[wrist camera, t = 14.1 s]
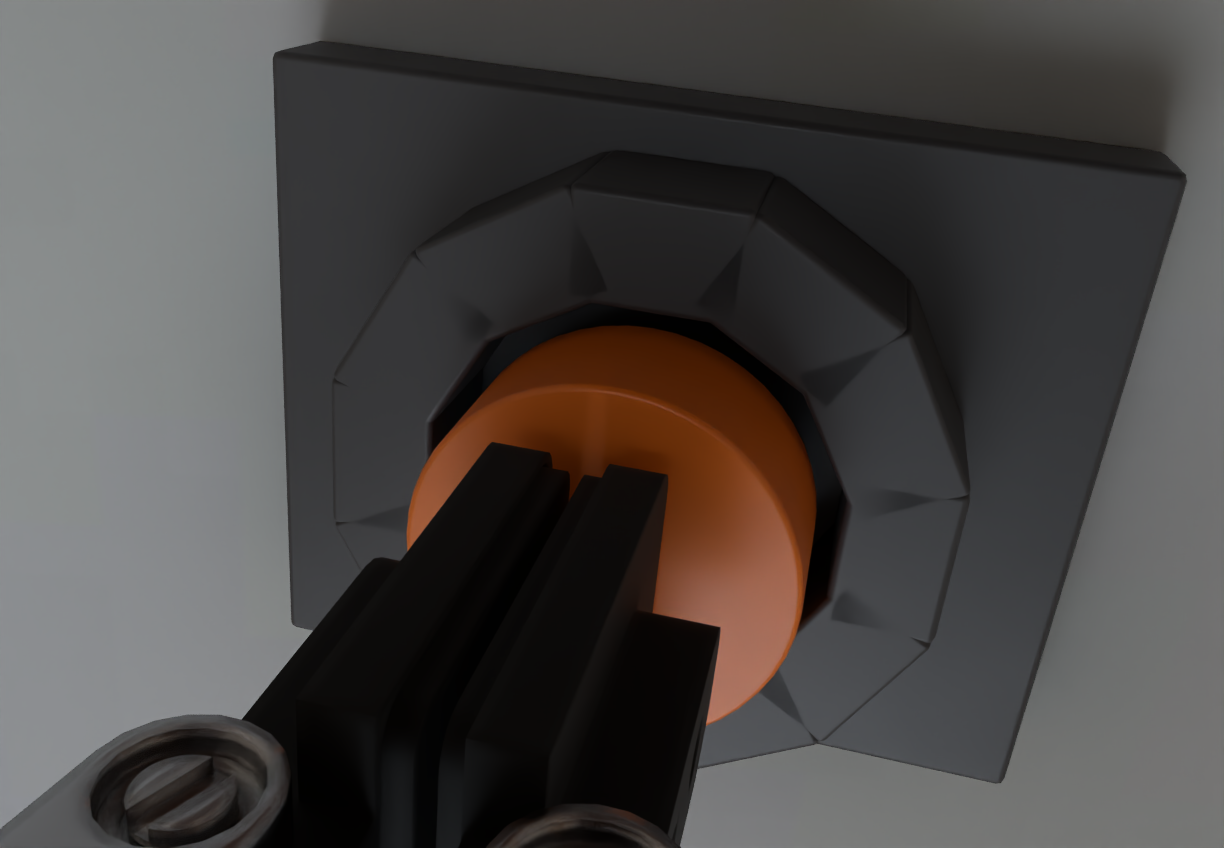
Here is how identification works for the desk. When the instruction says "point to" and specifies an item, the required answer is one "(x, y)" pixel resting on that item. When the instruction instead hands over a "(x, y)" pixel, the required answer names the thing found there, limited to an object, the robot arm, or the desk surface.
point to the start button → (697, 477)
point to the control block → (732, 344)
